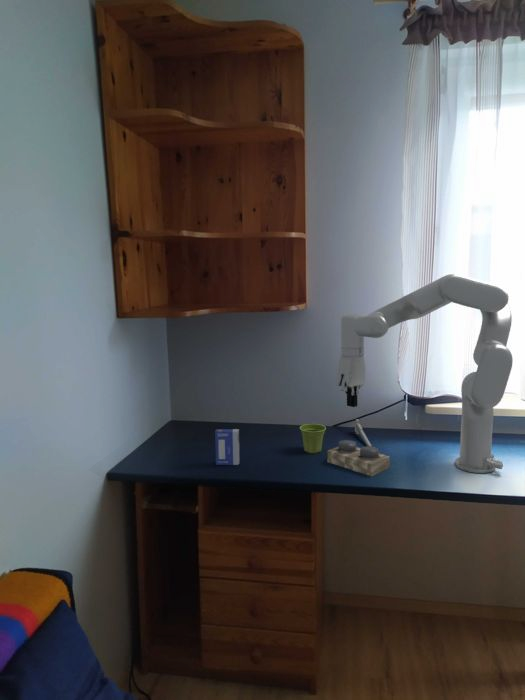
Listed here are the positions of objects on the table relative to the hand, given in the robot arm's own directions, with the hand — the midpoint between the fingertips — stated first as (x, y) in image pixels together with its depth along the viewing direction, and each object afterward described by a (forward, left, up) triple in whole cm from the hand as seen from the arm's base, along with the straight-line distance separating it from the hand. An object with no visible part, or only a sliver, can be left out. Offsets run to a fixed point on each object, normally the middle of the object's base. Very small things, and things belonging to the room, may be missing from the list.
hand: (352, 405), depth 179 cm
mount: (-4, +1, -19) cm, 20 cm away
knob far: (+1, +1, -19) cm, 19 cm away
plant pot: (+16, +1, -20) cm, 25 cm away
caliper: (+10, -21, -20) cm, 30 cm away
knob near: (-8, +1, -19) cm, 21 cm away
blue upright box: (+28, +31, -20) cm, 47 cm away
